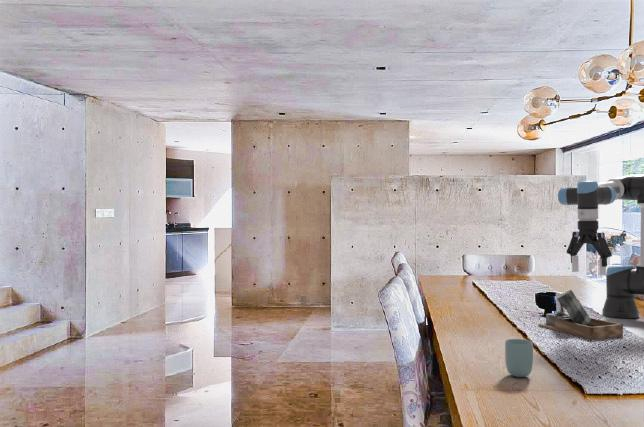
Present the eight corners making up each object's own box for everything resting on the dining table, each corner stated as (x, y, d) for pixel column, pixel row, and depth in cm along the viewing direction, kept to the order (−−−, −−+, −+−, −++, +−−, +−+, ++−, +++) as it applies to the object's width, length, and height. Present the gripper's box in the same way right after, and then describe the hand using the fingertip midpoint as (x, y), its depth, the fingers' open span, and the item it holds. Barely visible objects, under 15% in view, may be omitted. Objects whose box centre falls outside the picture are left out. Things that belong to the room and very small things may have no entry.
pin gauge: (561, 323, 251) (559, 292, 252) (567, 324, 248) (565, 293, 249) (555, 324, 250) (554, 293, 250) (561, 324, 247) (560, 293, 247)
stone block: (577, 330, 237) (589, 323, 234) (555, 299, 240) (566, 292, 238) (581, 325, 244) (592, 319, 242) (559, 295, 248) (570, 289, 246)
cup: (501, 372, 179) (501, 339, 179) (526, 371, 180) (526, 338, 180) (511, 379, 171) (511, 344, 171) (537, 378, 172) (537, 344, 172)
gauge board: (567, 323, 256) (567, 311, 256) (622, 335, 230) (622, 323, 230) (538, 326, 250) (538, 314, 250) (591, 339, 224) (591, 326, 224)
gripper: (557, 219, 246) (557, 270, 246) (606, 220, 223) (607, 277, 223) (570, 219, 249) (571, 269, 249) (621, 220, 226) (622, 275, 226)
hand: (588, 273), depth 236 cm, fingers open, 13 cm apart
